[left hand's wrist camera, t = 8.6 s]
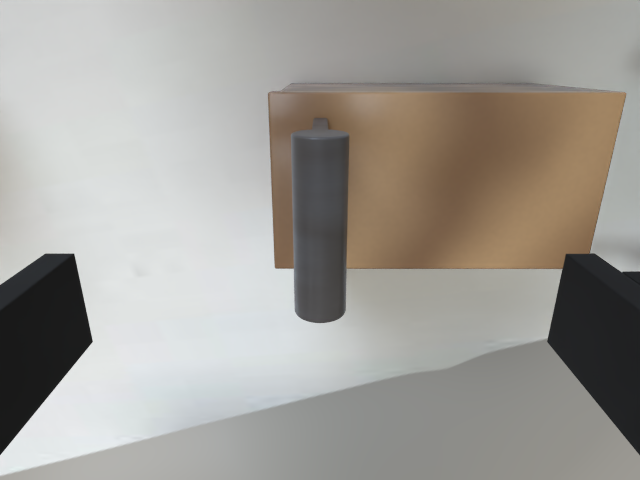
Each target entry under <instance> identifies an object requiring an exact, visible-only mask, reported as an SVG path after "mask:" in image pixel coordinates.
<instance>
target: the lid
mask: <svg viewBox="0 0 640 480" xmlns="http://www.w3.org/2000/svg"><path fill="white" fill-rule="evenodd" d="M625 98H626V93H625V92H616V91H271V92H269V93H268V106H269V132H270V157H271V183H272V208H273V234H274V260H275V268H294V294H295V312H296V314H297V315H298V316H299V317H300V318H301V319H303V320H306V321H309V322H314V323H326V322H332V321H335V320H337V319H339V318H341V317H342V316H343V315H344V313H345V310H346V269H563V265H564V260H565V256H566V254H589V253H590V249H591V245H592V240H593V236H594V232H595V227H596V223H597V219H598V214H599V210H600V206H601V201H602V197H603V193H604V188H605V184H606V180H607V175H608V171H609V167H610V162H611V158H612V154H613V149H614V145H615V141H616V136H617V132H618V128H619V123H620V119H621V115H622V110H623V106H624V102H625Z"/></svg>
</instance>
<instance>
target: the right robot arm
mask: <svg viewBox="0 0 640 480" xmlns="http://www.w3.org/2000/svg"><path fill="white" fill-rule="evenodd" d="M622 273H623V274H625V275H626V276H627V277H629V278H630V279H632V280H633V281H635V282H636V283H638V284H639V285H640V272H622Z"/></svg>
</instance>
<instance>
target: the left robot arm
mask: <svg viewBox="0 0 640 480" xmlns="http://www.w3.org/2000/svg"><path fill="white" fill-rule="evenodd" d="M92 342H93V341H92V336H91V331H90V327H89V322H88V317H87V312H86V308H85V303H84V298H83V293H82V289H81V284H80V279H79V274H78V270H77V265H76V260H75V256H74V254H44V255H43V256H41V257H40V258H39V259H37V260H36V261H34V262H33V263H31V264H30V265H28V266H27V267H26V268H24V269H23V270H21V271H20V272H18V273H17V274H15V275H14V276H13V277H11V278H10V279H8V280H7V281H5V282H4V283H2V284H1V285H0V455H1V453H2V452H3V451H4V450H5V449H6V447H7V446H8V445H9V444H10V442H11V441H12V440H13V439H14V438H15V436H16V435H17V434H18V433H19V431H20V430H21V429H22V428H23V426H24V425H25V424H26V423H27V422H28V420H29V419H30V418H31V417H32V415H33V414H34V413H35V412H36V411H37V409H38V408H39V407H40V406H41V404H42V403H43V402H44V401H45V400H46V398H47V397H48V396H49V395H50V393H51V392H52V391H53V390H54V389H55V387H56V386H57V385H58V384H59V382H60V381H61V380H62V379H63V378H64V376H65V375H66V374H67V373H68V371H69V370H70V369H71V368H72V366H73V365H74V364H75V363H76V362H77V360H78V359H79V358H80V357H81V355H82V354H83V353H84V352H85V351H86V349H87V348H88V347H89V346H90V344H91V343H92ZM547 342H548V343H549V344H550V346H551V347H552V348H553V349H554V351H555V352H556V353H557V354H558V355H559V357H560V358H561V359H562V360H563V362H564V363H565V364H566V365H567V366H568V368H569V369H570V370H571V371H572V373H573V374H574V375H575V376H576V378H577V379H578V380H579V381H580V382H581V384H582V385H583V386H584V387H585V389H586V390H587V391H588V392H589V393H590V395H591V396H592V397H593V398H594V400H595V401H596V402H597V403H598V404H599V406H600V407H601V408H602V409H603V411H604V412H605V413H606V414H607V415H608V417H609V418H610V419H611V420H612V422H613V423H614V424H615V425H616V426H617V428H618V429H619V430H620V431H621V433H622V434H623V435H624V436H625V437H626V439H627V440H628V441H629V442H630V444H631V445H632V446H633V447H634V449H635V450H636V451H637V452H638V453H639V455H640V285H639V284H638V283H636V282H635V281H633V280H632V279H630V278H629V277H627V276H626V275H625V274H623V273H622V272H620V271H619V270H617V269H616V268H614V267H613V266H612V265H610V264H609V263H607V262H606V261H604V260H603V259H601V258H600V257H599V256H597V255H596V254H566V256H565V260H564V265H563V270H562V274H561V279H560V284H559V289H558V293H557V298H556V303H555V308H554V312H553V317H552V322H551V327H550V331H549V336H548V341H547Z"/></svg>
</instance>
